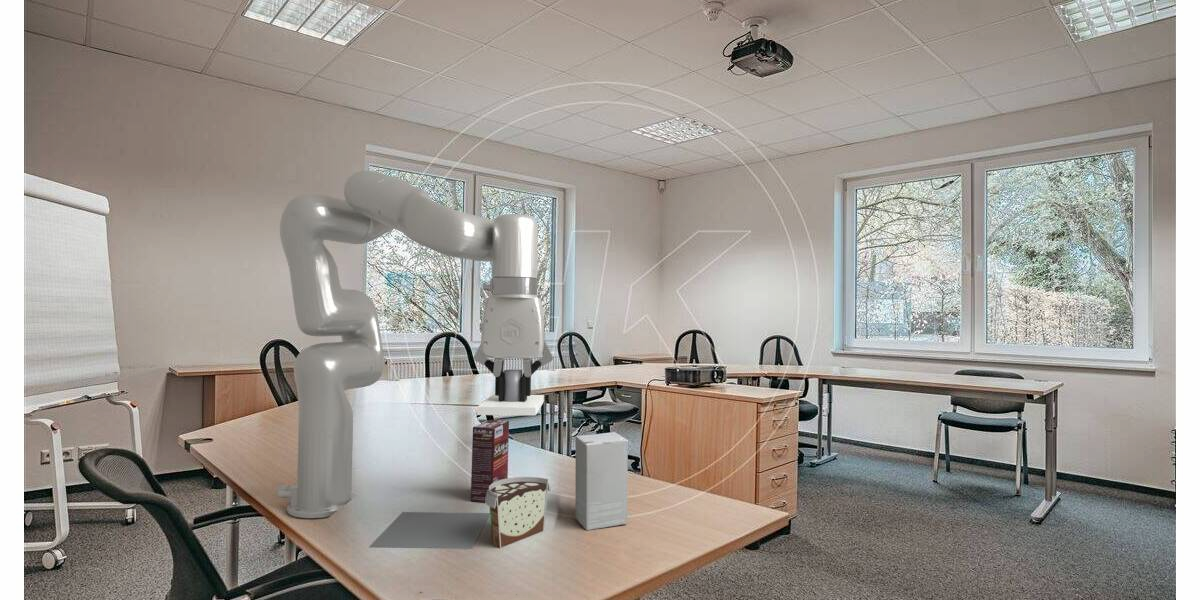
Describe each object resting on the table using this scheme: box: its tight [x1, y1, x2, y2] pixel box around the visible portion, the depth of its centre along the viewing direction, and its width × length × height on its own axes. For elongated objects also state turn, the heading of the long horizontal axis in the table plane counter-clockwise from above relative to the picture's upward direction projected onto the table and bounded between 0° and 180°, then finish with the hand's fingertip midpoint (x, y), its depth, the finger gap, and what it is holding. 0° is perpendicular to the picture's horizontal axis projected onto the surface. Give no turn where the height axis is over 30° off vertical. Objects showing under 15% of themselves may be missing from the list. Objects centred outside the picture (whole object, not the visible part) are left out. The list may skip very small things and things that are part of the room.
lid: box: [476, 368, 545, 417], centre depth 98 cm, size 9×14×6 cm, turn 0°
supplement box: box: [470, 419, 510, 504], centre depth 117 cm, size 9×5×16 cm, turn 168°
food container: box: [484, 476, 551, 549], centre depth 97 cm, size 12×6×10 cm, turn 141°
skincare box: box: [574, 431, 629, 531], centre depth 108 cm, size 8×7×16 cm
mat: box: [368, 511, 490, 550], centre depth 99 cm, size 16×16×2 cm
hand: (512, 399), depth 98 cm, fingers closed on lid, 3 cm apart
